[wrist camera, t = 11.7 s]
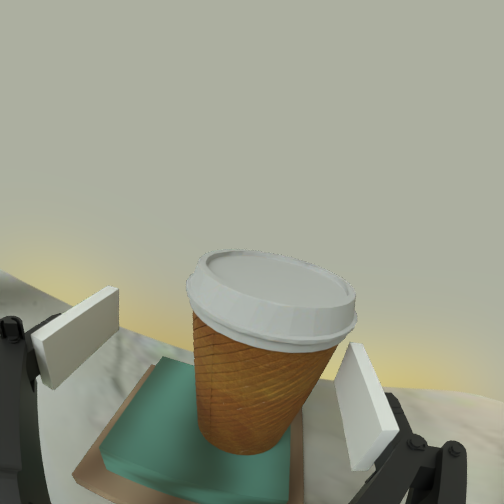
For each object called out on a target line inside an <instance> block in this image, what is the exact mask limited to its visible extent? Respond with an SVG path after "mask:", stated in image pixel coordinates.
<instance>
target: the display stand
mask: <svg viewBox="0 0 504 504" xmlns="http://www.w3.org/2000/svg"><path fill="white" fill-rule="evenodd" d="M194 367H195V366H193V365H190V364H186V363H183V362H180V361H176V360H173V359H170V358H167V357H164V356H163V357H162V358H161V359H160V361H159V362H158V364H157V365H156V366H155V365H152V364H151V366H150V367H149V368H148V370H147V371H146V373H145V374H144V375H143V377H142V378H141V379H140V381H139V382H138V383H137V385H136V386H135V387H134V389H133V390H132V391H131V393H130V394H129V396H128V397H127V398H126V400H125V401H124V402H123V404H122V405H121V406H120V408H119V409H118V411H117V412H116V413H115V415H114V416H113V417H112V419H111V420H110V422H109V423H108V424H107V426H106V427H105V428H104V430H103V431H102V433H101V434H100V435H99V437H98V438H97V440H96V441H95V442H94V444H93V445H92V446H91V448H90V449H89V451H88V452H87V453H86V455H85V456H84V458H83V459H82V460H81V462H80V463H79V465H78V466H77V467H76V469H75V470H74V472H73V473H72V476H73V478H74V479H75V481H76V483H78V484H79V485H81V486H83V487H85V488H87V489H88V490H90V491H92V492H94V493H96V494H98V495H100V496H102V497H104V498H106V499H108V500H110V501H112V502H114V503H116V504H303V498H304V477H303V425H302V407H301V409H300V410H299V412H298V413H297V415H296V416H295V418H294V419H293V421H292V422H291V424H290V425H289V427H288V428H287V430H286V431H285V433H284V434H283V436H282V437H281V439H280V440H279V442H278V443H277V444H276V445H275V446H274V447H273V448H271V449H270V450H268V451H266V452H264V453H260V454H256V455H236V454H232V453H228V452H225V451H223V450H220V449H218V448H217V447H215V446H214V445H212V444H211V443H209V442H208V441H207V440H206V439H205V437H204V436H203V435H202V433H201V432H200V429H199V426H198V416H197V404H196V401H197V400H196V386H195V382H196V381H195V369H194Z"/></svg>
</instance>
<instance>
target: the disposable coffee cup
mask: <svg viewBox="0 0 504 504" xmlns="http://www.w3.org/2000/svg"><path fill="white" fill-rule="evenodd" d="M186 291H187V295H188V297H189V298H190V304H191V307H192V309H193V331H194V333H193V338H194V342H193V345H194V358H195V359H194V364H195V367H194V369H195V381H196V382H195V386H196V400H197V401H196V404H197V416H198V426H199V429H200V432H201V433H202V435H203V436H204V437H205V439H206V440H207V441H208V442H209V443H211V444H212V445H214V446H215V447H217V448H218V449H220V450H223V451H225V452H228V453H232V454H236V455H256V454H260V453H264V452H266V451H268V450H270V449H271V448H273V447H274V446H275V445H276V444H277V443H278V442H279V440H280V439H281V437H282V436H283V434H284V433H285V431H286V430H287V428H288V427H289V425H290V424H291V422H292V421H293V419H294V418H295V416H296V415H297V413H298V412H299V410H300V409H301V407H302V406H303V404H304V403H305V401H306V399H307V398H308V396H309V395H310V393H311V391H312V389H313V388H314V386H315V385H316V383H317V381H318V380H319V378H320V376H321V374H322V373H323V371H324V369H325V367H326V365H327V364H328V362H329V360H330V359H331V357H332V355H333V353H334V351H335V350H336V348H337V346H338V344H339V343H340V342H341V341H342V340H344V339H345V337H346V335H347V334H348V333H350V332H351V331H352V330H353V329H354V326H355V324H356V322H357V313H356V311H355V298H356V292H355V290H354V288H353V287H352V286H351V285H350V283H348V282H347V281H346V280H345V279H343V278H342V277H340V276H338V275H337V274H335V273H333V272H331V271H329V270H326V269H325V268H322V267H320V266H317V265H314V264H312V263H309V262H306V261H303V260H299V259H296V258H292V257H288V256H284V255H279V254H274V253H268V252H262V251H254V250H243V249H225V250H215V251H211V252H208V253H205V254H204V255H203V256H201V257H200V258H199V261H198V263H197V266H196V269H195V271H194V273H193V274H191V275H190V277H189V278H188V279H187V281H186Z"/></svg>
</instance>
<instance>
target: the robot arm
mask: <svg viewBox="0 0 504 504" xmlns="http://www.w3.org/2000/svg"><path fill="white" fill-rule="evenodd" d="M118 330H119V289H118V288H115V287H112V286H109V285H108V286H106V287H105V288H103V289H101V290H100V291H98V292H97V293H95V294H93V295H92V296H90V297H88V298H87V299H85V300H83V301H82V302H80V303H79V304H77V305H75V306H74V307H72V308H71V309H69V310H68V311H66V312H64V313H63V314H61V313H59V314H56V315H52V316H51V317H49V318H47V319H46V320H45V321H43V322H41V323H40V324H38V325H36V326H35V327H33V328H32V329H30V330H29V331H27V332H26V333H24V328H23V323H22V320H21V319H20V318H18V317H16V316H6V317H3V318H2V319H0V335H1V336H0V504H51V502H50V498H49V494H48V489H47V484H46V479H45V474H44V468H43V462H42V455H41V447H40V438H39V427H38V409H37V381H36V377H37V376H38V375H39V374H40V375H41V379H42V382H43V384H45V385H46V386H48V387H49V388H51V389H53V390H55V389H56V388H57V387H58V386H59V385H60V384H61V383H62V382H63V381H64V380H66V379H67V378H68V377H69V376H70V375H71V374H72V373H73V372H74V371H75V370H76V369H77V368H78V367H79V366H80V365H81V364H82V363H83V362H84V361H86V360H87V359H88V358H89V357H90V356H91V355H92V354H93V353H94V352H95V351H96V350H97V349H98V348H99V347H101V346H102V345H103V344H104V343H105V342H106V341H107V340H108V339H109V338H110V337H111V336H112V335H114V334H115V333H116V332H117V331H118ZM334 384H335V389H336V393H337V398H338V403H339V407H340V412H341V417H342V422H343V427H344V432H345V437H346V442H347V448H348V453H349V459H350V464H351V470H352V471H368V470H369V469H370V467H371V466H372V465H373V464H374V463H375V467H376V470H375V472H374V473H373V474H372V475H371V476H370V477H369V478H368V479H367V480H366V481H365V484H364V486H363V487H362V488H361V489H360V491H359V492H358V493H357V494H356V495H355V497H354V498H353V499H352V500H351V501H350V502H349V504H400V502H401V501H402V499H403V497H404V496H405V494H406V492H407V490H408V489H409V492H408V496H407V500H406V504H466V488H467V453H466V449H465V448H464V446H463V445H462V444H461V443H459V442H457V441H447V442H446V443H445V444H444V445H443V446H442V447H441V448H438V447H432V446H428V445H427V442H426V441H425V439H424V438H422V437H421V436H420V435H417V434H413V432H412V430H411V428H410V425H409V423H408V421H407V418H406V416H405V414H404V412H403V410H402V408H401V405H400V403H399V401H398V399H397V398H396V397H395V396H394V395H393V394H392V393H385V392H384V391H383V389H382V386H381V384H380V382H379V379H378V377H377V375H376V373H375V370H374V368H373V366H372V364H371V361H370V359H369V357H368V355H367V353H366V351H365V348H364V346H363V344H360V343H353V342H350V343H349V345H348V348H347V351H346V353H345V356H344V358H343V360H342V363H341V365H340V368H339V370H338V373H337V375H336V377H335V379H334Z"/></svg>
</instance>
